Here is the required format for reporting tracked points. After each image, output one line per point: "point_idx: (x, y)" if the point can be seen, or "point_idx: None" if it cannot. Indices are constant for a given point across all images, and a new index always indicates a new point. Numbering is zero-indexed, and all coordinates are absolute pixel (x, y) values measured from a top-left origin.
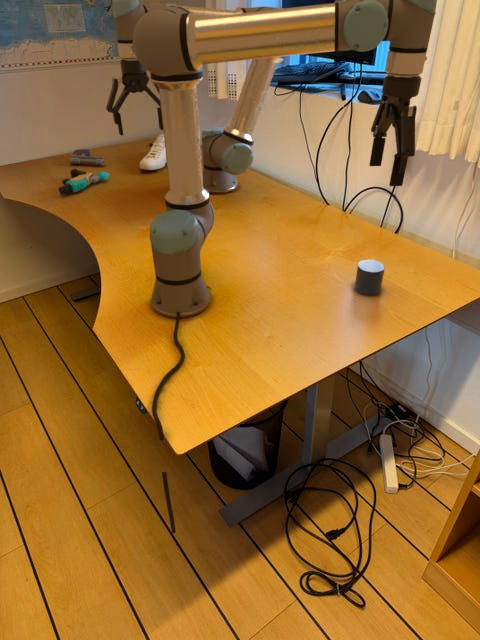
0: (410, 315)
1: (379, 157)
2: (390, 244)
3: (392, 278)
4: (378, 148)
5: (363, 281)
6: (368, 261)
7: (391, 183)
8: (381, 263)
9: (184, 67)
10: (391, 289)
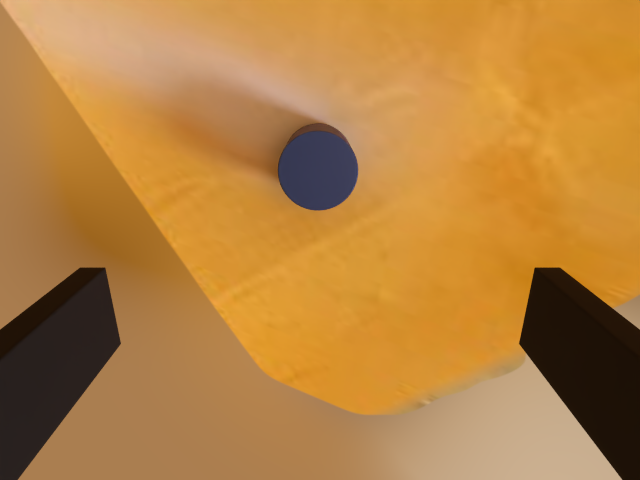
0: (194, 220)
1: (559, 366)
2: None
3: (358, 238)
4: (618, 407)
5: (291, 138)
6: (344, 171)
7: (70, 280)
8: (326, 205)
9: None
10: (307, 217)
